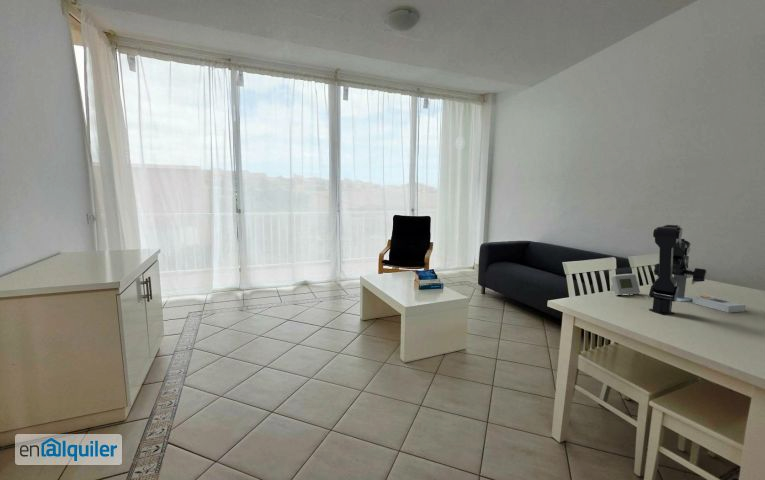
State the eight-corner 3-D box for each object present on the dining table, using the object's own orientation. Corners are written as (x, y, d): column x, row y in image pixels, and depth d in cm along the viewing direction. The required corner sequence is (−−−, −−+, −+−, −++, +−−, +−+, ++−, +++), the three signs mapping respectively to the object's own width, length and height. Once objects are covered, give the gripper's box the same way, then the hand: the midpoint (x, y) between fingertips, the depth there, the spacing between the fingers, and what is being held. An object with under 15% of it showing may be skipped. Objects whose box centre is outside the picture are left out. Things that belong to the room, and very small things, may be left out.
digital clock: (616, 297, 166) (618, 277, 165) (603, 292, 175) (604, 273, 174) (645, 296, 168) (647, 276, 166) (630, 291, 176) (632, 272, 175)
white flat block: (727, 312, 143) (729, 304, 143) (692, 302, 157) (693, 295, 157) (744, 311, 145) (746, 303, 145) (708, 301, 159) (709, 294, 159)
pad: (680, 301, 159) (681, 300, 159) (659, 295, 168) (660, 294, 168) (696, 300, 161) (697, 299, 160) (675, 294, 170) (675, 293, 170)
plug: (682, 298, 162) (685, 271, 160) (672, 296, 165) (675, 270, 163) (684, 297, 164) (687, 270, 162) (673, 295, 167) (676, 269, 165)
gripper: (708, 252, 151) (709, 272, 160) (657, 248, 166) (660, 266, 174) (703, 271, 147) (704, 290, 156) (652, 264, 162) (655, 282, 170)
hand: (680, 281), depth 164 cm, fingers open, 9 cm apart
